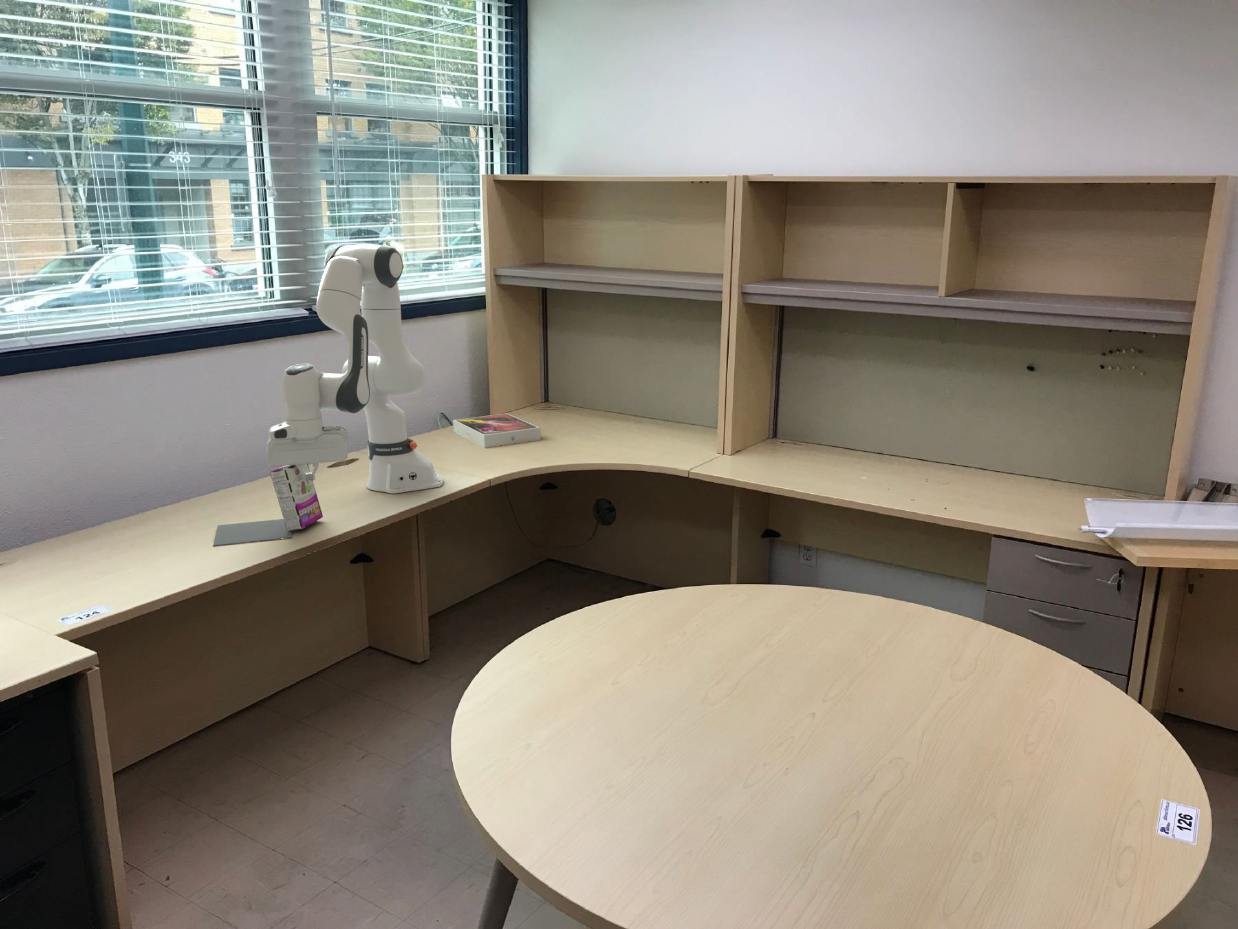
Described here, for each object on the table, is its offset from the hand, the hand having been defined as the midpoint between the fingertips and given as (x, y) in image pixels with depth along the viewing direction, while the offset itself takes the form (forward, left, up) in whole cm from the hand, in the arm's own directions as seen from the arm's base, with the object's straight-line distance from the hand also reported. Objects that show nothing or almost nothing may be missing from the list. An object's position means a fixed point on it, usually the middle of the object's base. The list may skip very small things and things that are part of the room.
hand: (309, 479), depth 253 cm
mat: (+15, 0, -13) cm, 20 cm away
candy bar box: (+2, 0, -12) cm, 13 cm away
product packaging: (-65, -84, -14) cm, 107 cm away
